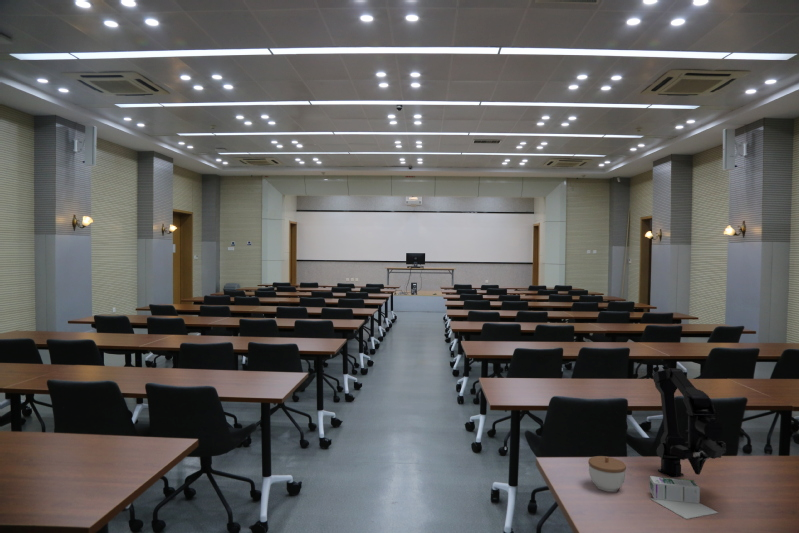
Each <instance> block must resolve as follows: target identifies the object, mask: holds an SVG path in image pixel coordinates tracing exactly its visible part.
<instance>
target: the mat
mask: <svg viewBox="0 0 799 533" xmlns="http://www.w3.org/2000/svg"><path fill="white" fill-rule="evenodd" d="M649 499H650V501H651V500H652V502H655V503H657V505H660V506H662V507H663V508H665V509H667V510H669V511H670V512H672V513H674V514H676V515H677V516H679V517H681V518H682V519H684V520H690V518H692V519H695V518H696V517H697V518H702V517H707V516H711V515H717V514H719V512H718V511H716V510H714V509H712V508H711V507H708V506H706V505H704V504H702V503H700V502H699V503H691V502H681V501H671V500H661V499H654V497H650V498H649ZM701 516H702V517H701Z"/></svg>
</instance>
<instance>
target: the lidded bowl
mask: <svg viewBox="0 0 799 533" xmlns="http://www.w3.org/2000/svg"><path fill="white" fill-rule="evenodd" d="M626 469H627V464H626V463H625V462H624V461H622V460H620V459H617V458H614V457H610V456H606V455H605V456H604V455H597V456H592V457H590V458H589V459H588V473H589V477H590V479H591V481H592V482H593V484H594V485H595V486H596V488H597V489H599V490H601V491H603V492H607V493H608V492H609V493H615V492H617V491H618V489H620V488H621V487H622V486H623V485H624V483H625V479H626V471H627V470H626Z"/></svg>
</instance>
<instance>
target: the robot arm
mask: <svg viewBox="0 0 799 533" xmlns="http://www.w3.org/2000/svg"><path fill="white" fill-rule="evenodd" d="M652 380H653V383H654V386H655V388H656V390H657V391H658V392H659V394H660V401H661V412H662V420H663V430H664V431H663V434H662V435H661V437H660V443H659V445H658V447H657V448H656V455H657V456H658V457H659V458H660V469H659V468H658V469H657V471H658V472H659V473H661V474H663V475H666V476H667V477H669V478H676V477H680V476H684V473H683V472H682V464H681V460H682V461H685V460H688V462H689V464H690V465H691V467H692V471H694V474H695V475H697V476H699V475H700V474H701V472H702V470H703V467H704V465H705V463H706V461H707V460H708V459H711V460H713V459H720V458H722V456H723V455H724V454H726V453H727V443H726V442H725V441H722V440H721V441H716V439H719V438H720V437H721V436H722V434H723V428H722V426H721V425H720V424H719V423H718V422H717V419H716V418H715V417H717V414H716V412H717V411H716V409H715V407H714V404H713V402H712V399H711V398H710V396H709V395H708V394H707V393H705V392H704V391H703V390H700V389H699V388H696V386H694V385H693V383H692V382H691V381H690V380H689V378H688V377H687V376H686V374H684V372H683V369H682V368H676V367H675V368H670V367H669V368H666V369H664V370H660V371H659V370H657V371H655V372H654V374H653V376H652ZM677 390H678V391H679V392H680V393H681V394H682V396H683V400H682V401H683V403H684V406H685V408H686V411H685V413H687V430H685V431H684V433H685V435H687V441H686V440H685V438H684V437H682V435H681V434H680V433H679V427H678V418H677V417H678V416H677V408H676V400H675V397H676V396H675V393H676V392H677ZM713 440H715V441H713Z"/></svg>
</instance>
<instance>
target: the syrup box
mask: <svg viewBox="0 0 799 533" xmlns="http://www.w3.org/2000/svg"><path fill="white" fill-rule="evenodd" d="M648 481H649V482H648V485H649V486H648V488H649V493H650V494H651V496H652V498H654V499H661V500H671V501H681V502H691V503H700V499H701V498H700V497H701V487H700V486H699V485H698V483H696V481H695V480H694V479H685V478H676V477H663V476H653V475H650V476H649V480H648Z"/></svg>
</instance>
